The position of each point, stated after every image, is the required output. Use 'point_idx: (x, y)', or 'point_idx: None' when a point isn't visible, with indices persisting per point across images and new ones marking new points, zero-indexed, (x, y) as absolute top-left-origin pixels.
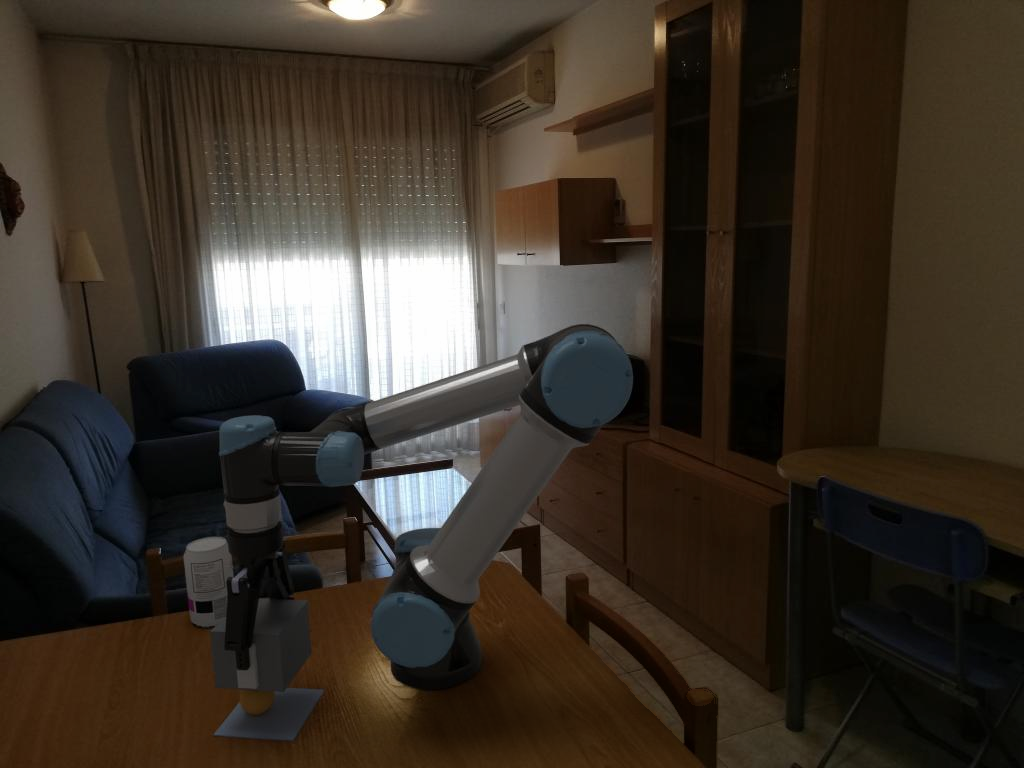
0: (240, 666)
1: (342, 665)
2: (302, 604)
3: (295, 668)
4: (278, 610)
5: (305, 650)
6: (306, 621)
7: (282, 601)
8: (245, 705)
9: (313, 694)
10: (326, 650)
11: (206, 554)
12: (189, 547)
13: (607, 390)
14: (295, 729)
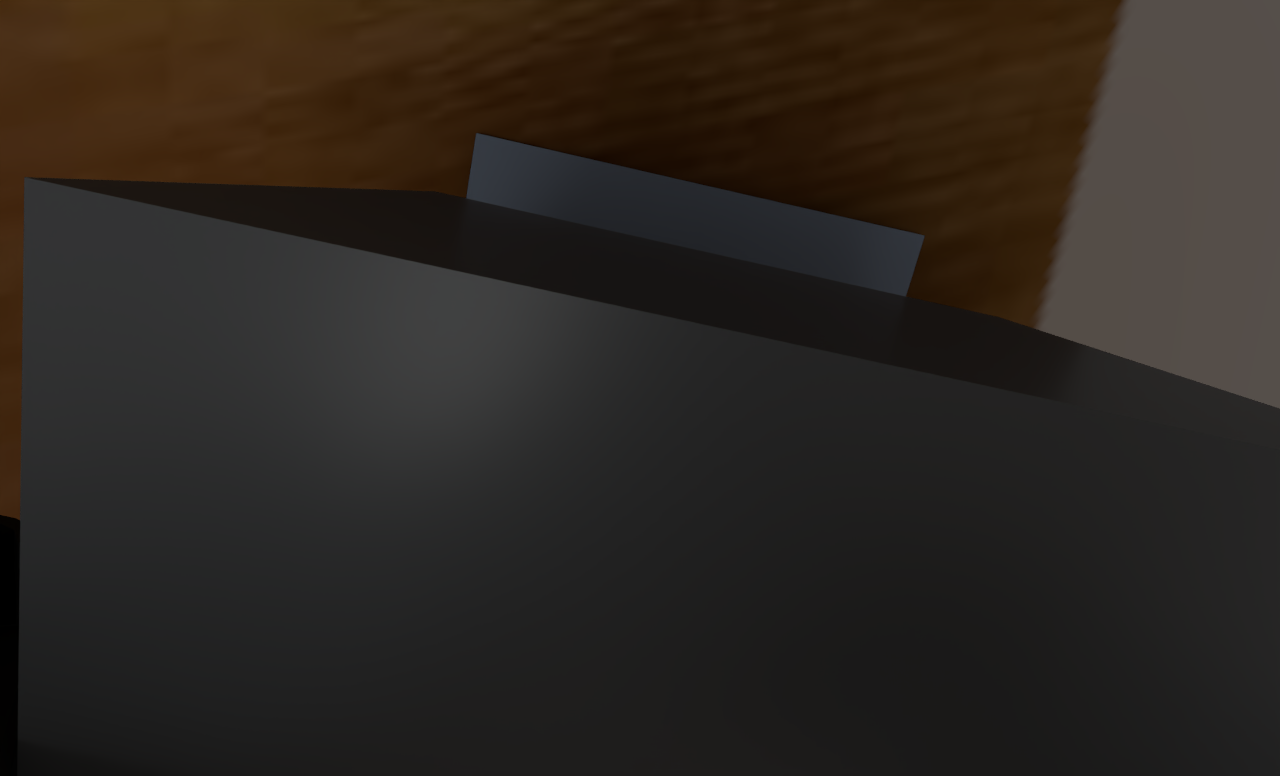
0: None
1: (191, 55)
2: (257, 281)
3: (778, 271)
4: (527, 750)
5: (543, 221)
6: (379, 209)
7: (121, 756)
8: None
9: (521, 195)
10: (14, 196)
11: None
12: None
13: None
14: (838, 240)
